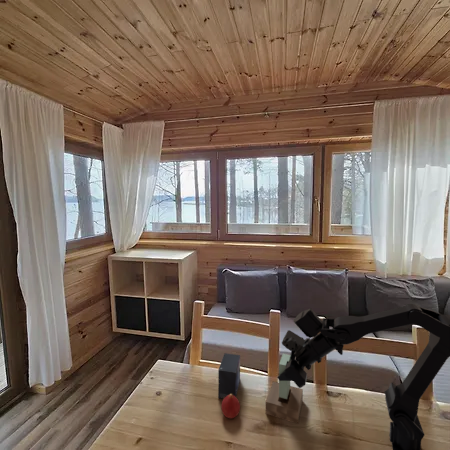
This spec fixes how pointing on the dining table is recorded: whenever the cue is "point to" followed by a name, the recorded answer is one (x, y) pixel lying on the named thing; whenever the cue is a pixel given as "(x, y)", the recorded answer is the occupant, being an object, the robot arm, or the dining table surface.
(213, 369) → the dining table surface
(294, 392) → the slotted box
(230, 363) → the small box
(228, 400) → the onion
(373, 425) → the dining table surface
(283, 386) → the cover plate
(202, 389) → the dining table surface
